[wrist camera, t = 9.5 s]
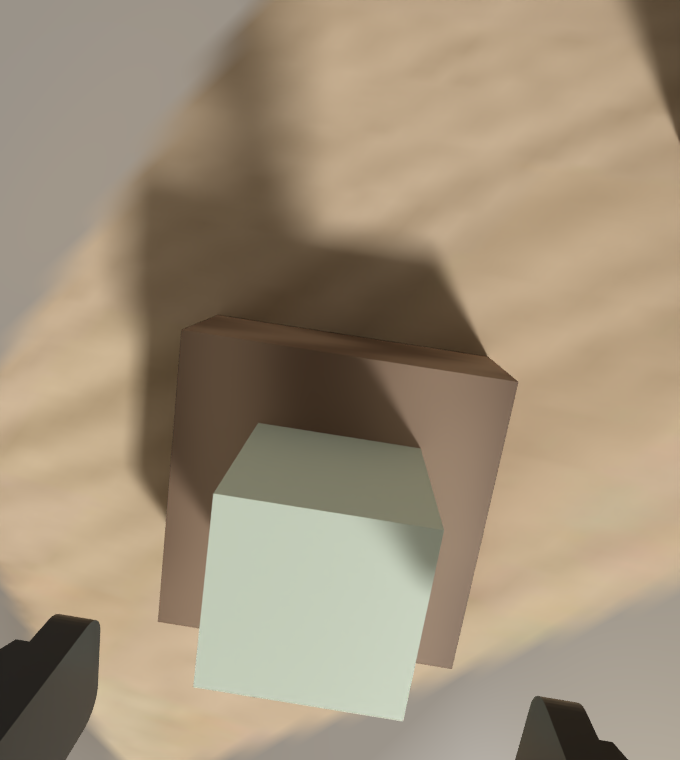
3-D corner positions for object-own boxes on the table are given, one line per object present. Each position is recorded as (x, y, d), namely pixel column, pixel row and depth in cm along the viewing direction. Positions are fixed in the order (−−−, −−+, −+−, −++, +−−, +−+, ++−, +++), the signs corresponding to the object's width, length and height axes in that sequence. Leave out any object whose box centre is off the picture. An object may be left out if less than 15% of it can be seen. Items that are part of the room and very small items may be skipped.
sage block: (420, 448, 16) (443, 530, 12) (392, 592, 18) (403, 721, 13) (258, 423, 16) (213, 493, 12) (240, 567, 18) (193, 687, 13)
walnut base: (487, 356, 20) (518, 382, 16) (436, 595, 22) (451, 668, 18) (217, 315, 20) (181, 330, 16) (194, 557, 22) (158, 621, 18)
